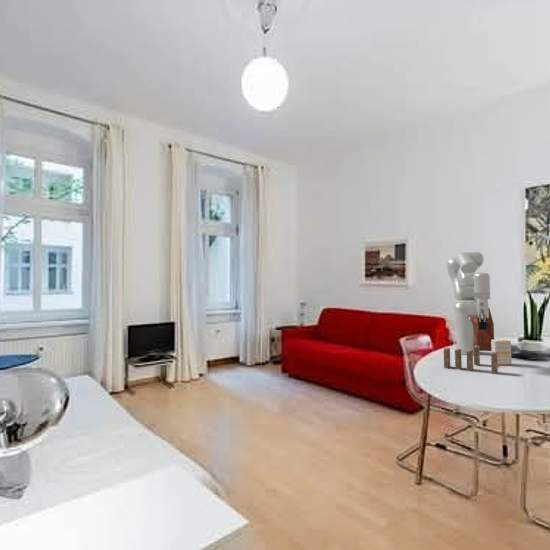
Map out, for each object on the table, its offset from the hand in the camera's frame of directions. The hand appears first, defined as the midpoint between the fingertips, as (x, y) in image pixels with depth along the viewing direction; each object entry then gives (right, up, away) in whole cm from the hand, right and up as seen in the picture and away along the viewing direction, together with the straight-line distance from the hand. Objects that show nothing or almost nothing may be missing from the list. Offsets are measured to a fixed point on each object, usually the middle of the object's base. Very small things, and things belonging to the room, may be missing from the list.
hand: (482, 328), depth 206 cm
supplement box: (+11, -20, +2) cm, 23 cm away
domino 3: (-11, -20, -8) cm, 24 cm away
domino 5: (-2, -20, -14) cm, 25 cm away
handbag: (+25, -19, +48) cm, 57 cm away
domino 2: (-15, -21, -4) cm, 26 cm away
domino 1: (-20, -21, -1) cm, 28 cm away
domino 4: (-2, -20, +2) cm, 20 cm away
